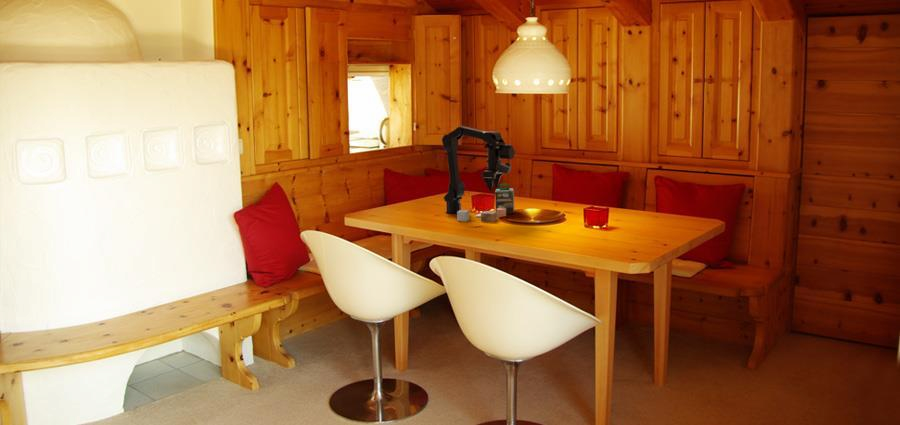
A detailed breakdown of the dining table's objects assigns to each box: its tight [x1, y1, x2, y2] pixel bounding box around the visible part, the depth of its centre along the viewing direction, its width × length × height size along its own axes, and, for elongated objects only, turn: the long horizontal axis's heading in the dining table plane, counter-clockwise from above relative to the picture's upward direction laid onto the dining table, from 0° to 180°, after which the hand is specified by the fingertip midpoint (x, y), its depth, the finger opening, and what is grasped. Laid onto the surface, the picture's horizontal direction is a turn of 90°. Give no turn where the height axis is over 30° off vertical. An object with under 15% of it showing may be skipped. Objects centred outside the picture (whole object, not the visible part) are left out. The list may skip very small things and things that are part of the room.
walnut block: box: [480, 210, 498, 223], centre depth 421 cm, size 6×6×4 cm
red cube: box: [497, 208, 507, 218], centre depth 429 cm, size 4×4×4 cm
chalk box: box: [494, 183, 515, 213], centre depth 439 cm, size 9×9×15 cm
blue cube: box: [456, 209, 470, 222], centre depth 423 cm, size 4×4×4 cm
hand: (493, 189), depth 428 cm, fingers open, 9 cm apart
